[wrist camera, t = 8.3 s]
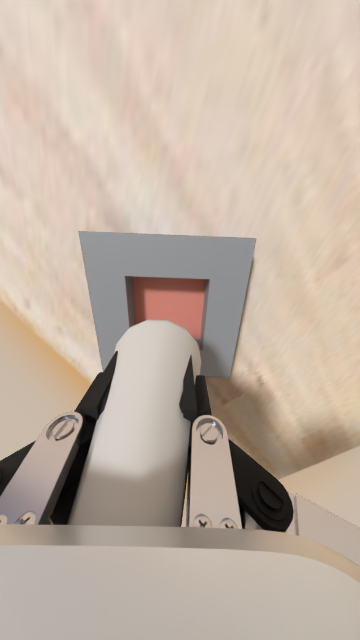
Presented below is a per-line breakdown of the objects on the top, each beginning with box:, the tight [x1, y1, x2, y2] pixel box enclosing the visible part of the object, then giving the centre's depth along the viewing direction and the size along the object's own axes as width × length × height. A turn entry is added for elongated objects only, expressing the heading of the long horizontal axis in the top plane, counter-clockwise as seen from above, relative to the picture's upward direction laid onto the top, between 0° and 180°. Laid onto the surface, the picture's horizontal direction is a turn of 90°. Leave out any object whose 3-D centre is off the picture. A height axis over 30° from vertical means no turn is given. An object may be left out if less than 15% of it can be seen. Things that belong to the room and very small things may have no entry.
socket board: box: [78, 231, 256, 377], centre depth 20 cm, size 16×16×3 cm
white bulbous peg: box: [67, 319, 201, 527], centre depth 8 cm, size 6×6×13 cm
